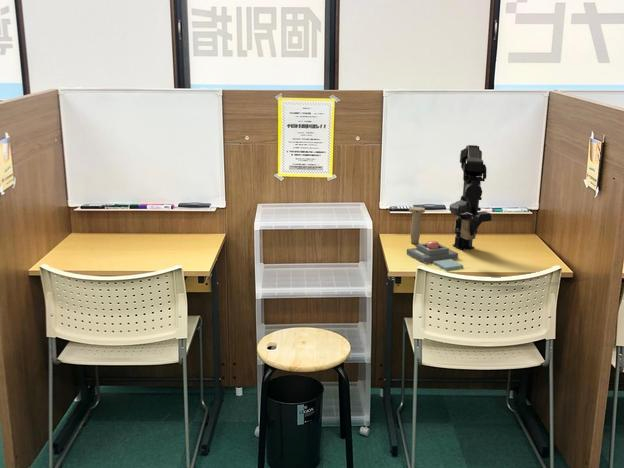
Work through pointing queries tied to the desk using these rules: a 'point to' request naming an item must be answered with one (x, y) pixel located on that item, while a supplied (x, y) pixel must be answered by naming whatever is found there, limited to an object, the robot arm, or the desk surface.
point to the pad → (448, 264)
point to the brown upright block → (466, 230)
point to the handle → (416, 223)
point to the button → (432, 245)
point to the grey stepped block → (431, 253)
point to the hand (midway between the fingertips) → (468, 233)
